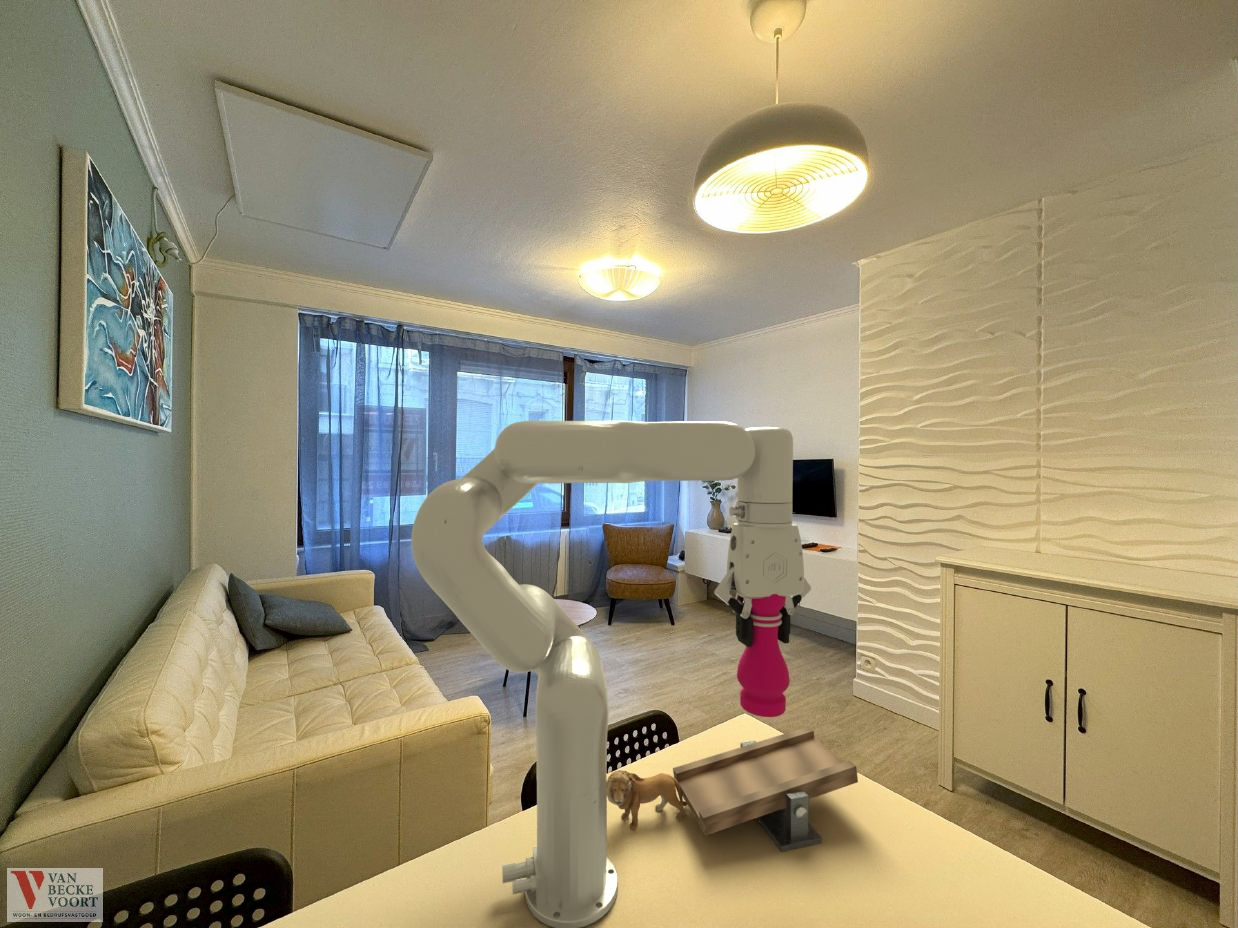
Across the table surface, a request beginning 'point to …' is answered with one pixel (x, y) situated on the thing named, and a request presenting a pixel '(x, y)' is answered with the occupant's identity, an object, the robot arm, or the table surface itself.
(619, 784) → the lion figurine
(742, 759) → the balance beam
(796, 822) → the beam stand
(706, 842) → the table surface
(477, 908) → the table surface
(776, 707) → the pepper mill
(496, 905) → the table surface
